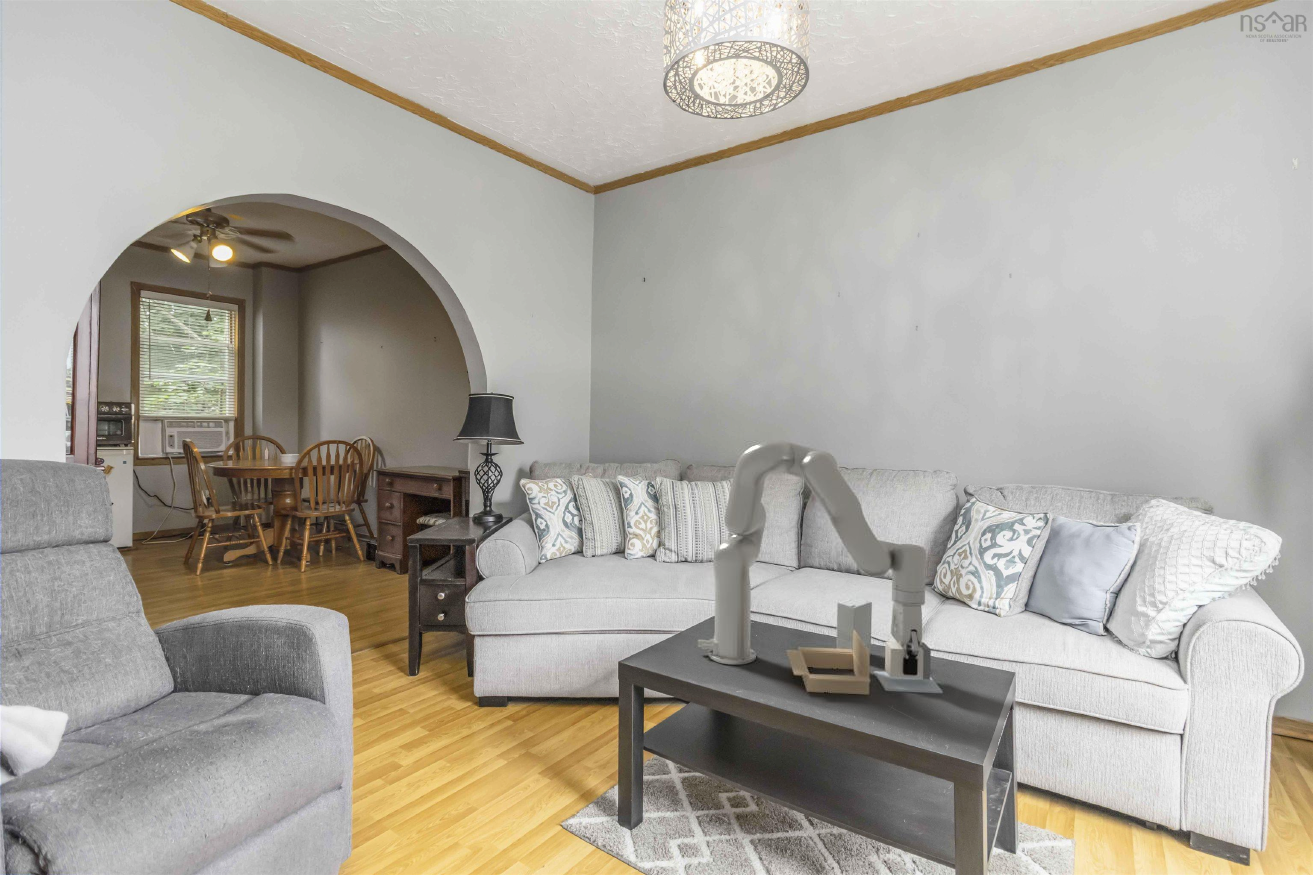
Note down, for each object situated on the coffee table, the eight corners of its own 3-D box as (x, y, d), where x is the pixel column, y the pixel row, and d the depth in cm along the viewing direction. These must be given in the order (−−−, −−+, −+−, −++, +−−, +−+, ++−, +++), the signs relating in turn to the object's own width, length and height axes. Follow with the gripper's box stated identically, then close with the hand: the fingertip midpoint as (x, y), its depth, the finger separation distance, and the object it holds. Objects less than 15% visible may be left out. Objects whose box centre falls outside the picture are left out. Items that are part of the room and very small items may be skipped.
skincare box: (853, 649, 184) (854, 596, 184) (872, 655, 179) (873, 600, 179) (835, 655, 179) (835, 601, 178) (854, 662, 174) (855, 606, 174)
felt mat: (885, 690, 155) (885, 688, 155) (874, 673, 166) (874, 671, 166) (942, 693, 154) (942, 691, 154) (927, 675, 165) (927, 673, 165)
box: (890, 677, 158) (891, 647, 158) (884, 669, 163) (885, 640, 163) (930, 679, 157) (930, 649, 157) (923, 671, 162) (923, 642, 162)
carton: (795, 695, 152) (795, 652, 152) (785, 662, 173) (786, 624, 173) (871, 698, 151) (872, 655, 151) (852, 665, 172) (852, 627, 171)
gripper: (883, 586, 169) (881, 656, 169) (902, 604, 152) (900, 683, 152) (913, 587, 168) (912, 658, 168) (936, 606, 151) (934, 684, 151)
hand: (906, 669), depth 160 cm, fingers closed on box, 4 cm apart
